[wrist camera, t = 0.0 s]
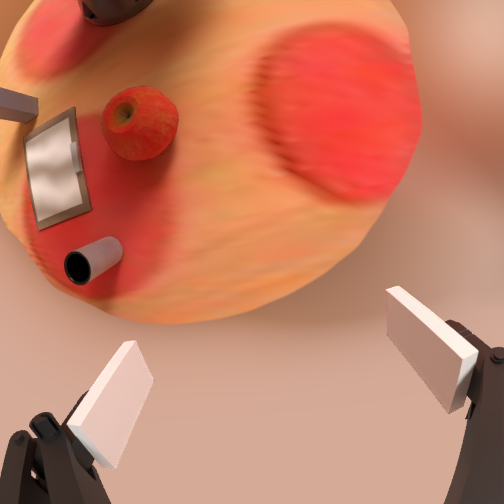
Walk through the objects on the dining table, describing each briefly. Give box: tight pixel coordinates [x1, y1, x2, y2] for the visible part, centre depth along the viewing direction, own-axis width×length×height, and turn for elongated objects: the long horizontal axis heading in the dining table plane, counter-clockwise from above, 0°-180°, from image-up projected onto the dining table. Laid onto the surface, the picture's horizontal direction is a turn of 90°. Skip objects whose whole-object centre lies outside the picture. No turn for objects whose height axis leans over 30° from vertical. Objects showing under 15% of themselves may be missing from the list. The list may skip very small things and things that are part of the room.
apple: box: [102, 86, 179, 161], centre depth 32 cm, size 10×10×10 cm
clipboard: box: [23, 107, 92, 231], centre depth 37 cm, size 18×13×1 cm
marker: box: [0, 88, 38, 123], centre depth 28 cm, size 4×4×14 cm
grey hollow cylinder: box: [64, 236, 123, 285], centre depth 36 cm, size 4×4×10 cm
